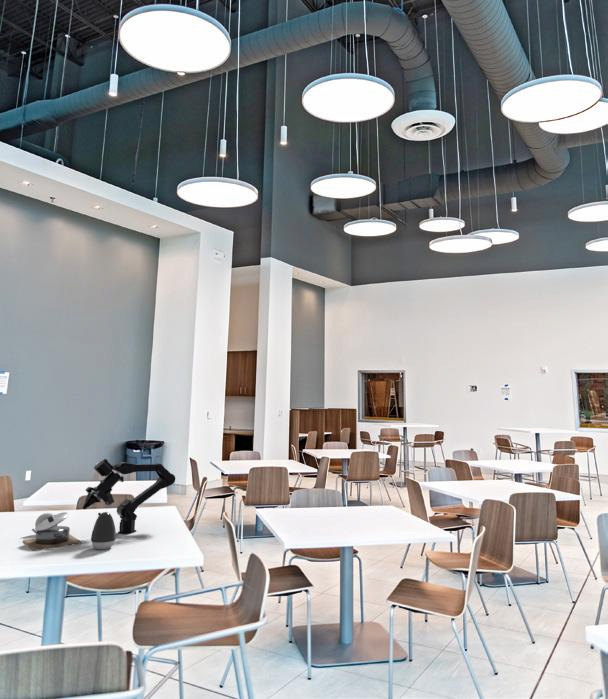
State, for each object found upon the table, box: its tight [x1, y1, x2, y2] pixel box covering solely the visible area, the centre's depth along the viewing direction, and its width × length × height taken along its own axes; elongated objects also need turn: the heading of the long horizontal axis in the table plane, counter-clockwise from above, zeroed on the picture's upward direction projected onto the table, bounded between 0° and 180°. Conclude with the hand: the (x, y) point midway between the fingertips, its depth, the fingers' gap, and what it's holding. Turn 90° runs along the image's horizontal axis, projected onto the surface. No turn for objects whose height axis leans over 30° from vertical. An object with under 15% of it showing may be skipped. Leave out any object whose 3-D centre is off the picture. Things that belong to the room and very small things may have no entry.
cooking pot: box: [35, 525, 71, 545], centre depth 229 cm, size 14×22×5 cm, turn 40°
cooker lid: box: [31, 511, 69, 534], centre depth 229 cm, size 15×14×3 cm
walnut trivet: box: [22, 533, 83, 551], centre depth 229 cm, size 20×20×1 cm
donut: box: [34, 512, 59, 528], centre depth 246 cm, size 10×4×10 cm, turn 110°
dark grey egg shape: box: [90, 511, 117, 551], centre depth 221 cm, size 10×10×15 cm
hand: (83, 508), depth 239 cm, fingers closed
